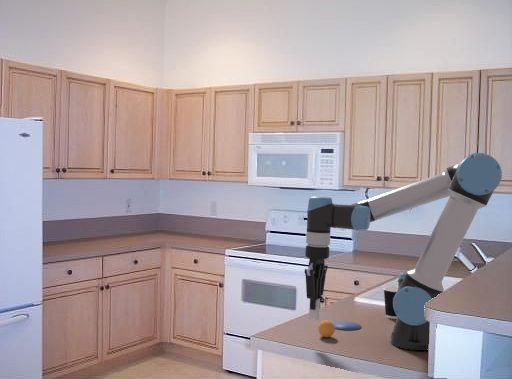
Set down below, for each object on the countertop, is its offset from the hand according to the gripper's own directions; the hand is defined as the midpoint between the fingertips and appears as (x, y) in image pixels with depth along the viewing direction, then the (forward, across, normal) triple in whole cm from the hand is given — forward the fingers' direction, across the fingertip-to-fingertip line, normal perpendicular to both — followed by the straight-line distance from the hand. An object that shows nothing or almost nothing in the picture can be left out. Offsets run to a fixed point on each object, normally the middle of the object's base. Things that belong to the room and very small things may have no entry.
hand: (313, 319), depth 180 cm
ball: (+5, -10, +1) cm, 11 cm away
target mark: (+8, -27, 0) cm, 28 cm away
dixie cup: (+8, -50, +11) cm, 52 cm away
